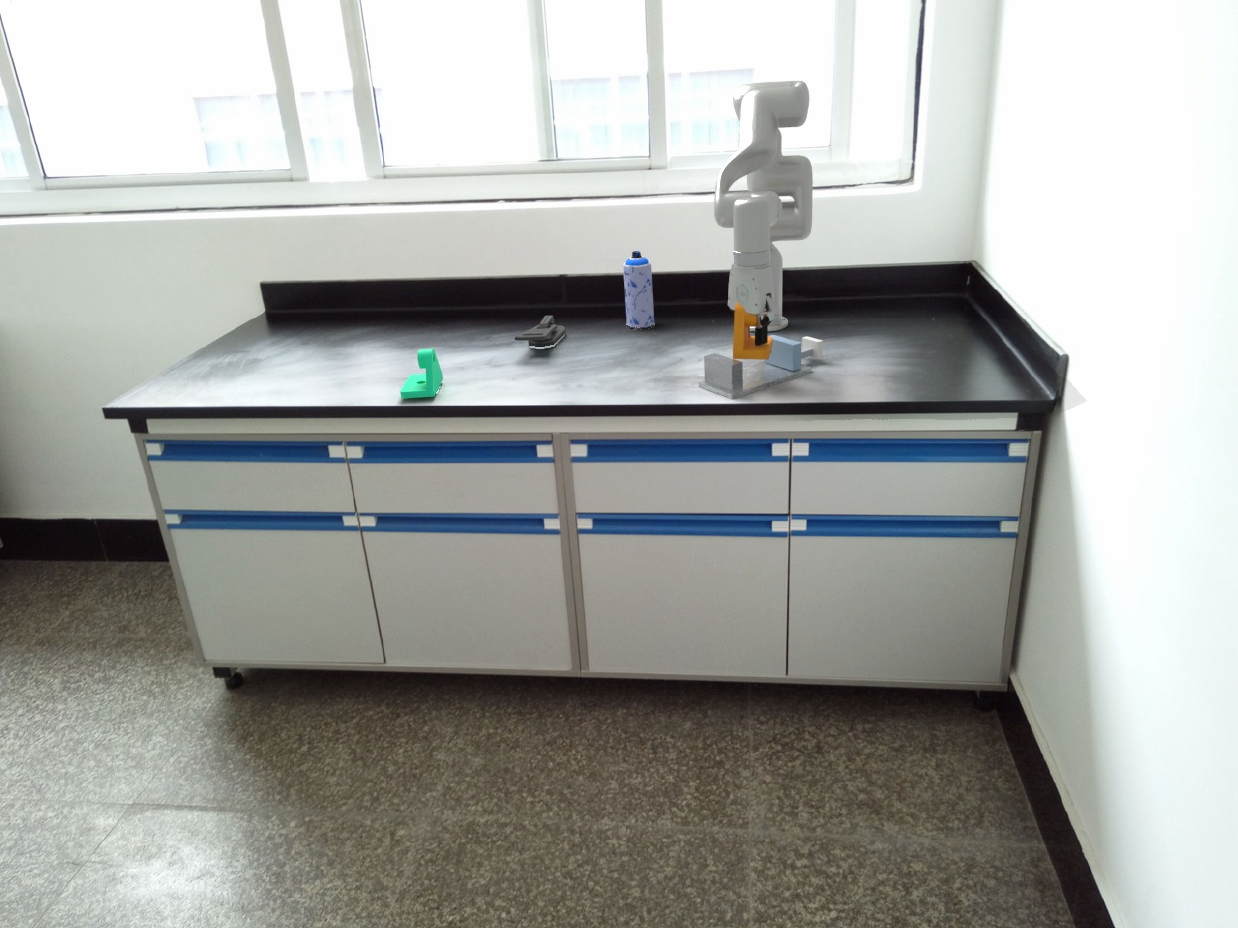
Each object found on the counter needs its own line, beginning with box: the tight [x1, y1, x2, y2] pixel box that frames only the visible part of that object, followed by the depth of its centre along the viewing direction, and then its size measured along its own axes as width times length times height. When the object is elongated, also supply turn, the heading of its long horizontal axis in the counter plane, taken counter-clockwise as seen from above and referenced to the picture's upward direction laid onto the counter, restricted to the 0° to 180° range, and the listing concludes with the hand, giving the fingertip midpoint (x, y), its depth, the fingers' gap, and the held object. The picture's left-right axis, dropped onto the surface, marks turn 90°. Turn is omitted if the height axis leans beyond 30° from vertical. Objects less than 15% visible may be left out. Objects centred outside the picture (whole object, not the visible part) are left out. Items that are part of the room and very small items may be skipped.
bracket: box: [732, 303, 773, 361], centre depth 196 cm, size 11×7×12 cm, turn 164°
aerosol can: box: [622, 250, 656, 328], centre depth 243 cm, size 8×8×20 cm
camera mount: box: [399, 348, 444, 399], centre depth 207 cm, size 12×8×10 cm, turn 1°
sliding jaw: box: [764, 334, 824, 371], centre depth 207 cm, size 9×12×6 cm
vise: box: [698, 352, 813, 399], centre depth 201 cm, size 11×24×7 cm, turn 125°
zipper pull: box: [514, 315, 566, 347], centre depth 234 cm, size 9×7×25 cm
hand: (752, 341), depth 198 cm, fingers closed on bracket, 4 cm apart
